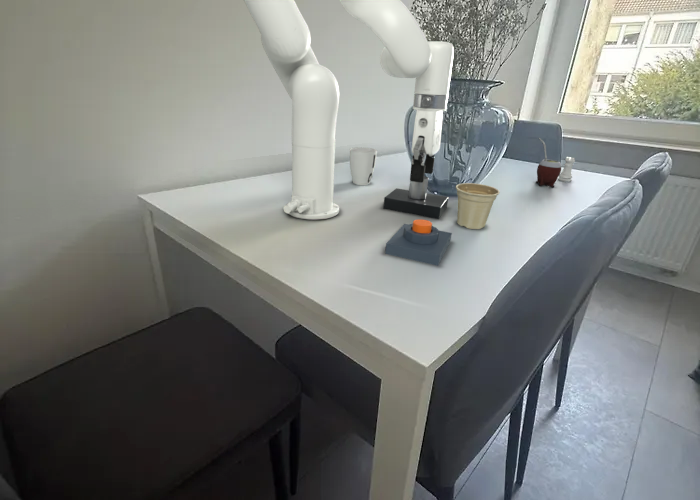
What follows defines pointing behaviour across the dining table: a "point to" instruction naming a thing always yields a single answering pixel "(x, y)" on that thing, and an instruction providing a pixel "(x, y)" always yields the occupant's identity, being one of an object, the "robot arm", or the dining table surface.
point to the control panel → (416, 204)
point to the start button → (422, 226)
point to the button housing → (419, 244)
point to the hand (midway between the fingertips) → (421, 177)
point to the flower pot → (474, 204)
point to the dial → (418, 189)
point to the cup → (362, 164)
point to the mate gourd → (548, 170)
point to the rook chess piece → (567, 170)
